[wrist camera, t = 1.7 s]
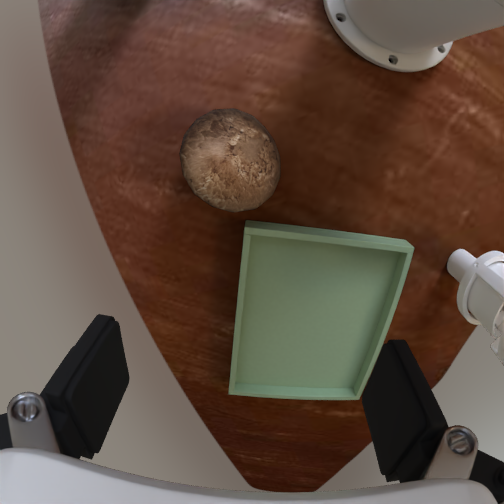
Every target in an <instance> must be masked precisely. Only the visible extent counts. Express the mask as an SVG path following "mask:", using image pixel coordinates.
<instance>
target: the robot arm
mask: <svg viewBox="0 0 504 504" xmlns="http://www.w3.org/2000/svg"><path fill="white" fill-rule="evenodd" d="M323 1H324V8H325V11H326V13H327V16H328V19H329V21H330V23H331V24H332V26H333V28H334V29H335V31H336V32H337V34H338V35H339V36H340V37H341V38H342V40H343V41H344V42H345V43H346V44H347V45H348V46H349V47H350V48H351V49H353V50H354V51H355V52H356V53H357V54H359V55H360V56H362V57H363V58H365V59H366V60H368V61H370V62H372V63H374V64H376V65H378V66H380V67H383V68H386V69H389V70H393V71H400V72H416V71H421V70H425V69H428V68H430V67H433V66H435V65H436V64H438V63H439V62H441V61H442V60H443V59H444V58H445V57H446V56H447V54H448V52H449V50H450V48H451V46H452V43H453V41H455V40H458V39H461V38H464V37H467V36H470V35H473V34H477V33H480V32H483V31H487V30H490V29H494V28H497V27H501V26H504V0H323ZM337 18H339V19H341V21H342V22H340V21H338V20H337ZM389 59H390V60H391V61H392V63H390V62H389ZM128 383H129V372H128V368H127V363H126V358H125V353H124V348H123V343H122V338H121V332H120V326H119V323H118V322H117V321H115V319H114V317H112V316H106V315H100V314H99V315H97V316H96V317H95V318H94V320H93V321H92V323H91V324H90V325H89V327H88V328H87V330H86V331H85V332H84V333H83V335H82V336H81V338H80V339H79V340H78V342H77V343H76V345H75V346H73V347H72V348H71V350H70V351H69V353H68V354H67V355H66V357H65V358H64V360H63V361H62V363H61V364H60V365H59V367H58V369H57V370H56V371H55V373H54V374H53V376H52V377H51V379H50V380H49V382H48V383H47V385H46V386H45V388H44V389H43V391H42V392H41V394H40V395H38V394H36V393H33V392H24V393H21V394H18V395H16V396H15V397H13V398H12V400H11V401H10V402H9V405H8V407H7V413H5V414H2V415H0V504H504V462H502V461H500V460H498V459H496V458H494V457H492V456H489V455H488V454H486V453H484V452H482V451H480V450H478V440H477V437H476V436H475V434H474V433H473V432H472V431H471V430H470V429H468V428H466V427H464V426H460V425H457V426H456V425H455V426H452V427H448V425H447V422H446V419H445V417H444V415H443V413H442V411H441V409H440V407H439V405H438V403H437V401H436V399H435V397H434V394H433V392H432V390H431V388H430V386H429V384H428V382H427V380H426V378H425V376H424V375H423V373H422V371H421V369H420V367H419V365H418V363H417V361H416V359H415V357H414V355H413V354H412V352H411V350H410V348H409V346H408V344H407V342H406V341H405V340H389V341H388V342H387V344H384V345H383V346H382V349H381V352H380V354H379V357H378V359H377V362H376V364H375V367H374V369H373V372H372V374H371V377H370V379H369V381H368V384H367V386H366V388H365V391H364V393H363V396H362V404H363V407H364V411H365V415H366V418H367V422H368V425H369V429H370V433H371V437H372V440H373V444H374V448H375V452H376V456H377V460H378V464H379V468H380V471H381V474H382V475H385V477H386V480H387V482H391V481H397V480H399V481H400V483H399V484H392V485H385V486H378V487H369V488H361V489H352V490H340V491H325V492H290V493H285V492H252V491H237V490H224V489H215V488H207V487H199V486H192V485H185V484H179V483H173V482H168V481H162V480H157V479H152V478H148V477H143V476H139V475H135V474H131V473H127V472H123V471H119V470H115V469H111V468H107V467H103V466H100V465H96V464H93V463H90V462H86V461H83V460H80V457H81V456H82V457H86V458H89V459H92V458H93V456H94V453H99V451H100V449H101V447H102V444H103V442H104V440H105V437H106V435H107V432H108V430H109V427H110V425H111V423H112V420H113V418H114V416H115V413H116V411H117V409H118V406H119V404H120V402H121V400H122V397H123V395H124V393H125V391H126V388H127V386H128Z"/></svg>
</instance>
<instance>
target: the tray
mask: <svg viewBox="0 0 504 504" xmlns="http://www.w3.org/2000/svg"><path fill="white" fill-rule="evenodd" d="M413 251H414V247H413V246H412V245H411V244H410V243H408V242H407V241H406V240H403V239H396V238H389V237H381V236H374V235H367V234H359V233H352V232H344V231H336V230H328V229H320V228H312V227H304V226H295V225H287V224H278V223H269V222H260V221H251V220H246V221H245V228H244V238H243V248H242V258H241V268H240V278H239V288H238V298H237V308H236V319H235V329H234V339H233V350H232V361H231V372H230V382H229V394H232V395H242V396H253V397H266V398H282V399H304V400H359V398H360V396H361V394H362V392H363V390H364V387H365V385H366V383H367V381H368V378H369V376H370V374H371V371H372V369H373V367H374V364H375V362H376V360H377V357H378V355H379V352H380V350H381V347H382V345H383V342H384V339H385V337H386V334H387V332H388V329H389V326H390V323H391V321H392V318H393V315H394V312H395V309H396V306H397V303H398V300H399V297H400V294H401V291H402V288H403V285H404V282H405V279H406V275H407V272H408V269H409V265H410V262H411V258H412V255H413Z"/></svg>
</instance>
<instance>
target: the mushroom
mask: <svg viewBox="0 0 504 504" xmlns="http://www.w3.org/2000/svg"><path fill="white" fill-rule="evenodd" d="M179 154H180V160H181V166H182V171H183V175H184V177H185V179H186V180H187V182H188V184H189V186H190V187H191V189H192V191H193V193H194V194H195V195H197V196H198V197H199V198H201V199H202V200H204V201H205V202H206V203H208V204H209V205H210V206H212V207H215V208H219V209H222V210H226V211H230V212H239V211H246V210H253V209H256V208H258V207H259V206H260V205H261V204H262V203H264V202H265V201H266V200H267V199H268V198H270V197H271V196H272V195H273V193H274V191H275V189H276V186H277V184H278V181H279V179H280V155H279V152H278V150H277V147H276V144H275V141H274V139H273V138H272V137H271V135H270V134H269V132H268V131H267V129H266V128H265V127H264V126H263V125H262V124H261V123H260V122H259V121H258V120H257V119H256V118H255V117H254V116H252V115H250V114H248V113H245V112H242V111H240V110H237V109H217V110H212V111H211V112H209V113H207V114H205V115H203V116H201V117H200V118H198V119H196V120H195V122H194V123H193V124H192V125H191V127H190V128H189V129H188V130H187V132H186V133H185V135H184V137H183V141H182V145H181V149H180V153H179Z"/></svg>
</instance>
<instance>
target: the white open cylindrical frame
mask: <svg viewBox="0 0 504 504" xmlns="http://www.w3.org/2000/svg"><path fill="white" fill-rule="evenodd" d="M501 261H504V253H502V252H499V251H491V252H487V253H485V254H483V255H481V256H480V257H479V258H477V259H476V258H475V257H473V256H472V255H471V254H470V253H468V252H467V251H466V250H464V249H458V250H456V251H454V252H453V253H452V254H451V256H450V257H449V259H448V262H447V270H448V272H449V273H450V274H451V275H452V276H453V277H454V278H455V279H456V280H457V281H458V282H459V283H460V285H459V288H458V293H457V305H458V309H459V311H460V312H461V314H462V315H463V316H464V317H465V318H466V320H467V321H468V322H470V323H472V324H475V325H480V324H482V325H483V326H484V327H485V329H486V330H487V331H488V332H489V333H490V334H491V336H492V337H493V338H494V339H495V341H494V342H493V343H492V344H491V345H490V347H491V349H492V351H493V352H494V353H495V355H496V356H497V357H498V358H499V360H500V361H501V362H502V364H503V365H504V263H502V262H501ZM467 309H468V310H469V311H470V312H471V313H472V314H470V313H468V310H467ZM495 328H497V329H498V331H499V332H500V333H501V334H502V335H501V336H500V337H499V338H498V337H497V336H496V334H495Z"/></svg>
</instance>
